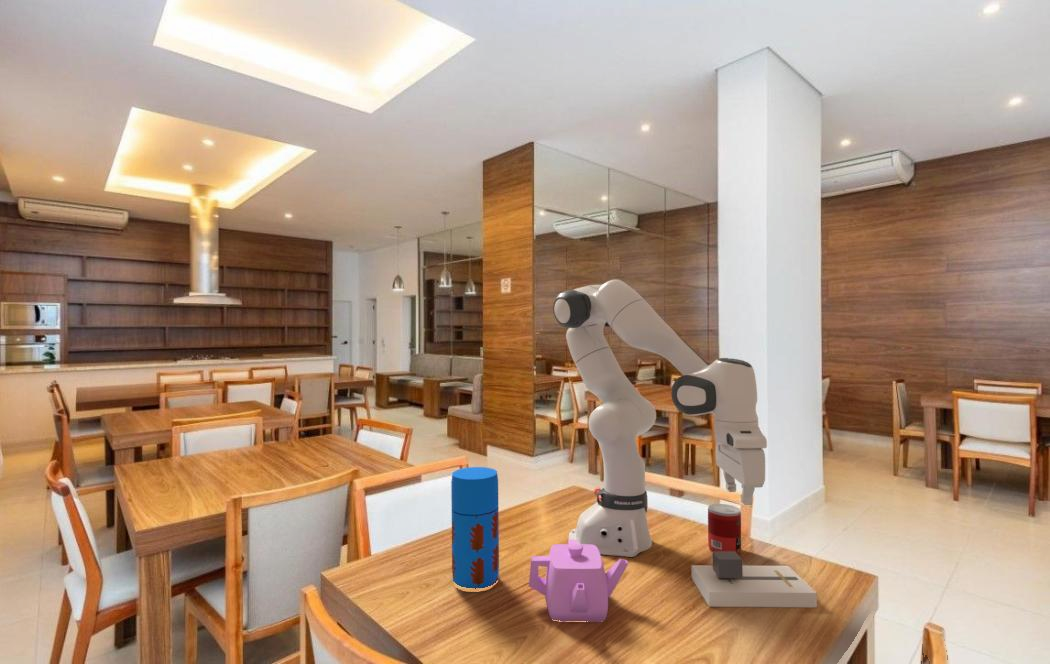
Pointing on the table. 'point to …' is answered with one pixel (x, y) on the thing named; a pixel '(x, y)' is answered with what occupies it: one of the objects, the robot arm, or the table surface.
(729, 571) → the block
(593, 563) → the teakettle
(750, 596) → the slider panel
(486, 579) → the thermos
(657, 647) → the table surface
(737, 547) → the canned food
